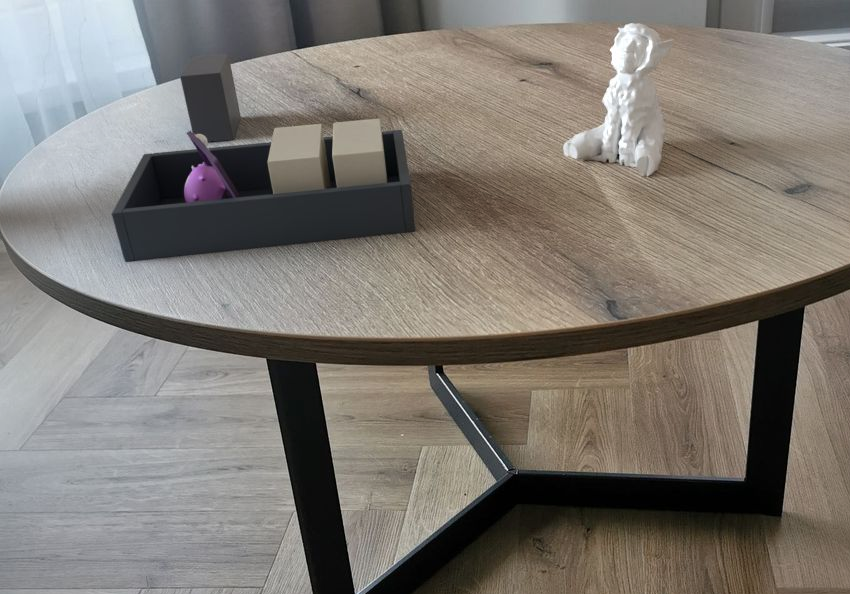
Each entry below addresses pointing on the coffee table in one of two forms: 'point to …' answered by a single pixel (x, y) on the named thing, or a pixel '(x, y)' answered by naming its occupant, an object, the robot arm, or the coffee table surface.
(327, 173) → the cream box
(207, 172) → the purple bumpy fruit toy
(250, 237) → the tray
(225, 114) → the grey box
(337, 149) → the cream box
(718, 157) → the coffee table surface
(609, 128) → the seated beast figurine
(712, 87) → the coffee table surface
